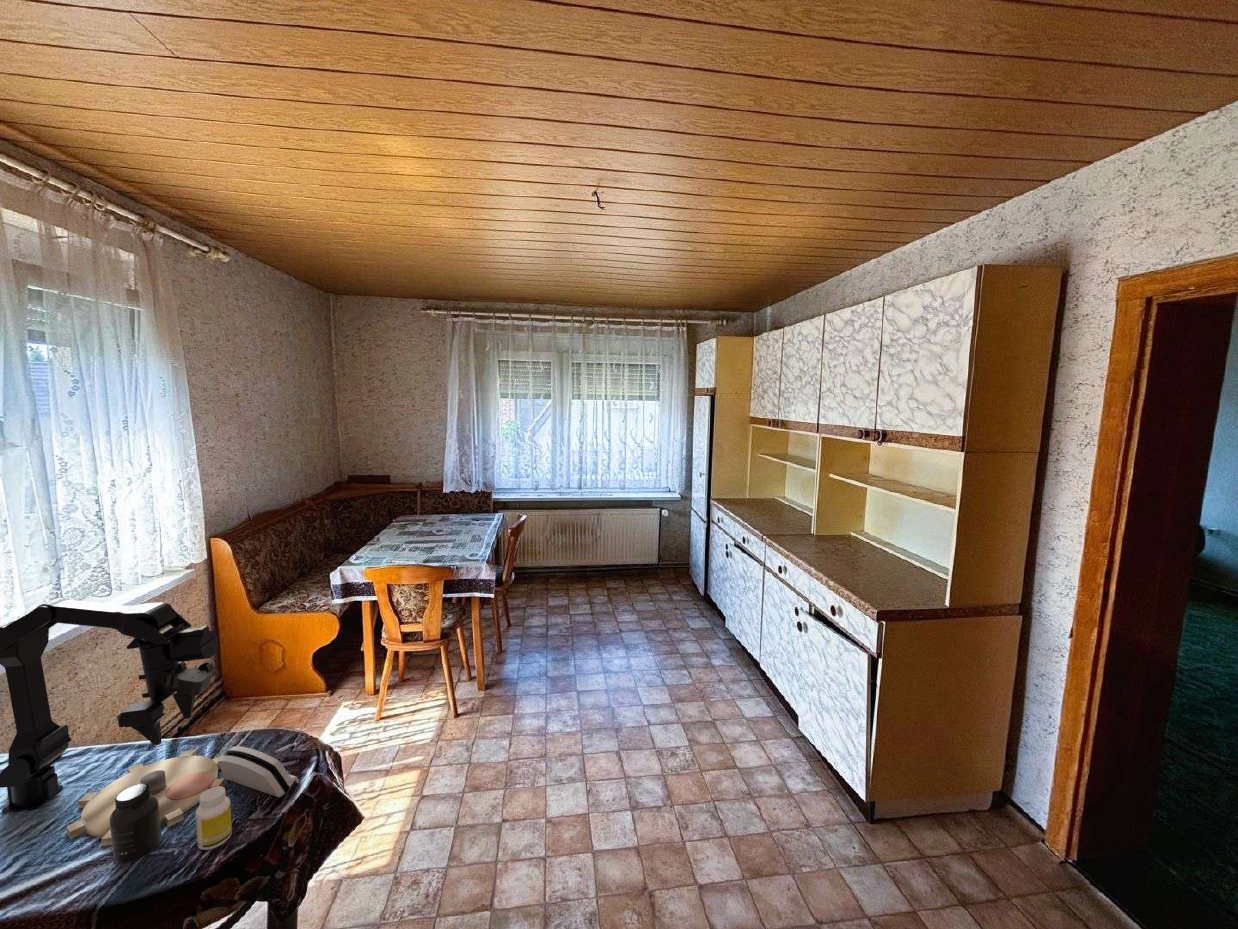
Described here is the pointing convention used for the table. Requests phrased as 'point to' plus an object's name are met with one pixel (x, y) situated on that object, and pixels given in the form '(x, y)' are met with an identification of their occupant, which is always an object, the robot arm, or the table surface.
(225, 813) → the supplement bottle
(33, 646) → the robot arm
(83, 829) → the sprocket wheel
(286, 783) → the white arched block
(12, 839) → the table surface
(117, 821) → the supplement bottle
